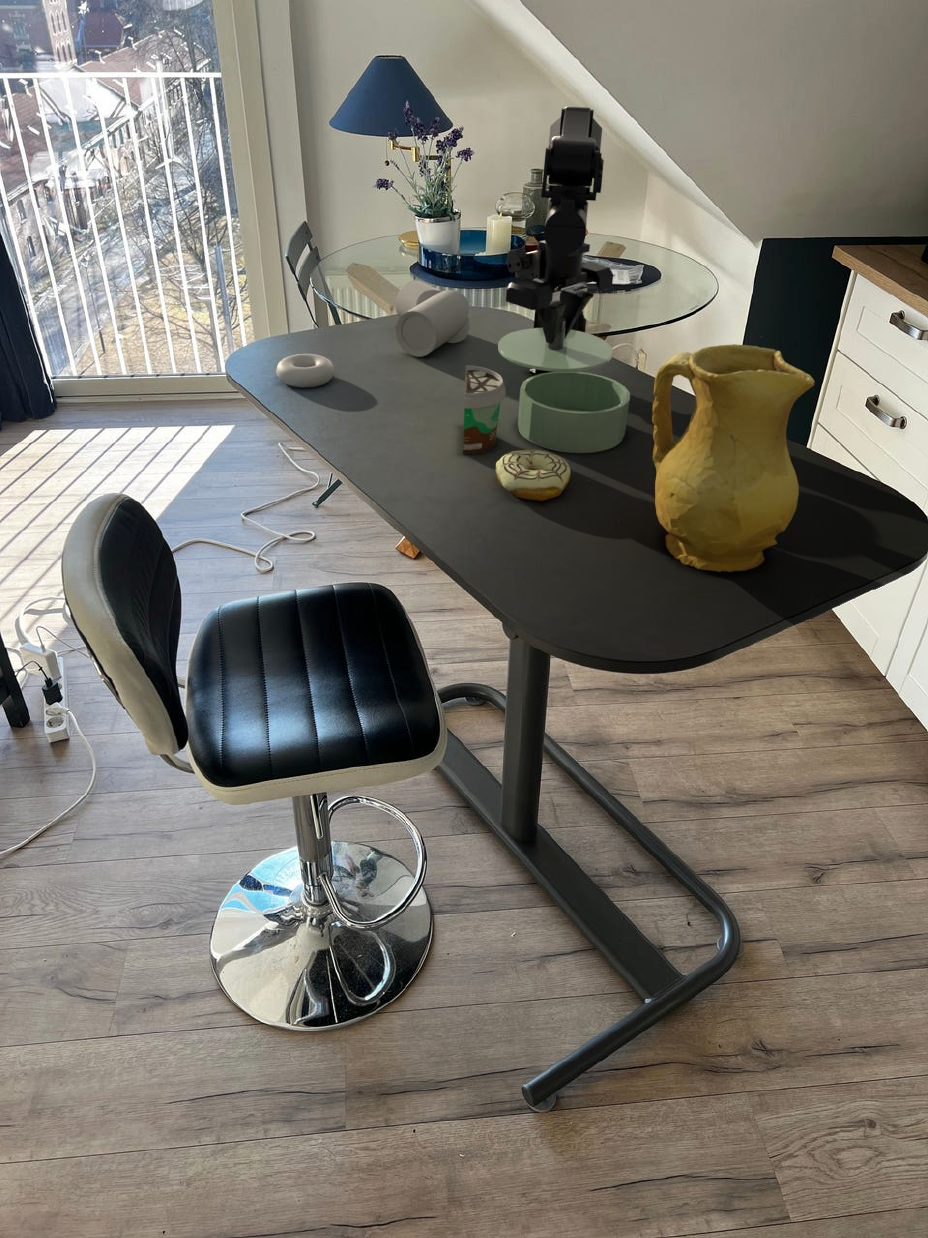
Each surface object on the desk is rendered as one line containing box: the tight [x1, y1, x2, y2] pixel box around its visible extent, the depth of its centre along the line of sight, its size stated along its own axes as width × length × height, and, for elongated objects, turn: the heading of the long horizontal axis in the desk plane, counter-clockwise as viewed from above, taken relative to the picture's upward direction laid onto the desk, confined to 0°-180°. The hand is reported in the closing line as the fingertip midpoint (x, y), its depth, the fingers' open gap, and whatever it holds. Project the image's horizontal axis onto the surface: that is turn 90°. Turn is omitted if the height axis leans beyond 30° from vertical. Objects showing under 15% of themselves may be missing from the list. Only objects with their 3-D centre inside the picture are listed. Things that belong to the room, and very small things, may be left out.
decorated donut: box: [495, 449, 572, 502], centre depth 130 cm, size 10×11×4 cm
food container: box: [462, 364, 507, 455], centre depth 139 cm, size 12×6×10 cm, turn 179°
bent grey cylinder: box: [395, 280, 470, 358], centre depth 176 cm, size 18×10×20 cm
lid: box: [497, 317, 614, 372], centre depth 143 cm, size 18×18×6 cm
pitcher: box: [651, 343, 816, 573], centre depth 112 cm, size 17×19×25 cm
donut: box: [276, 353, 335, 388], centre depth 160 cm, size 10×4×10 cm
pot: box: [517, 371, 631, 454], centre depth 145 cm, size 17×17×6 cm
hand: (555, 340), depth 143 cm, fingers closed on lid, 3 cm apart
